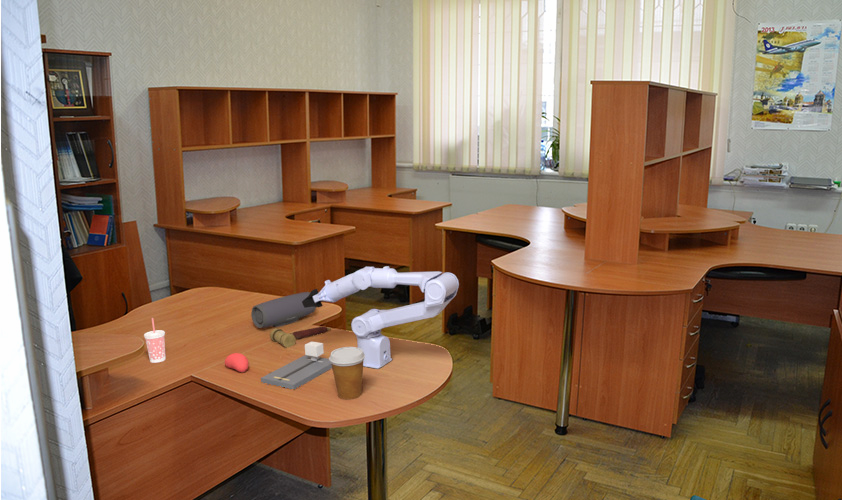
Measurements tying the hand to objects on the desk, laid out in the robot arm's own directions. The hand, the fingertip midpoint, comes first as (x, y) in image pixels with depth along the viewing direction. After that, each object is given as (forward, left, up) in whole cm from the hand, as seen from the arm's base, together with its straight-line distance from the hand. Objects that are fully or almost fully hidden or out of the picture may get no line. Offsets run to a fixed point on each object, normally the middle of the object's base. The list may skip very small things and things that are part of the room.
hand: (311, 301), depth 202 cm
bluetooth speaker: (+30, -20, -17) cm, 40 cm away
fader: (-7, +8, -15) cm, 19 cm away
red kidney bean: (+13, +20, -18) cm, 30 cm away
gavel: (+13, -11, -18) cm, 25 cm away
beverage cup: (+43, +25, -17) cm, 53 cm away
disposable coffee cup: (-29, +21, -17) cm, 40 cm away
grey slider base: (-7, +15, -17) cm, 24 cm away
